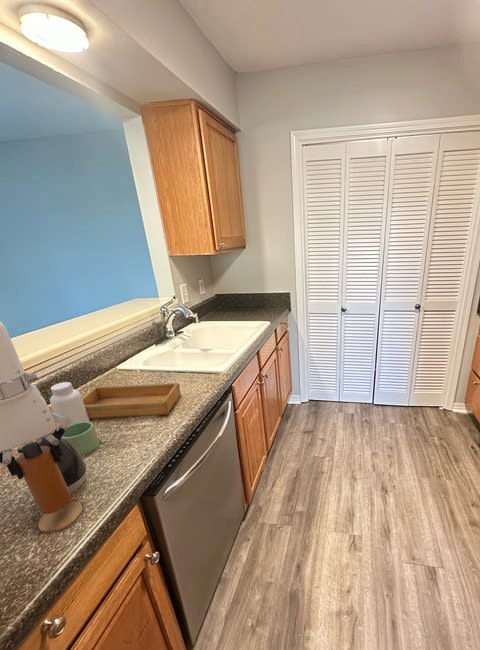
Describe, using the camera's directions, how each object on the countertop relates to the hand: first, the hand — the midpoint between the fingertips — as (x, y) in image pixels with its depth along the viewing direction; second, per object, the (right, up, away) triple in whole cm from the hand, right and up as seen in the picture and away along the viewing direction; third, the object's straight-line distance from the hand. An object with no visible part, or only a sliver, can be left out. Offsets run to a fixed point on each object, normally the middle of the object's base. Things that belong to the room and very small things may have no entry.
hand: (39, 466), depth 65 cm
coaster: (+1, -13, +5) cm, 14 cm away
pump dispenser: (-4, -10, +13) cm, 17 cm away
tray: (-7, +6, +50) cm, 50 cm away
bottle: (+1, -9, +4) cm, 10 cm away
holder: (-10, -3, +28) cm, 30 cm away
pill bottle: (-20, +1, +39) cm, 44 cm away
